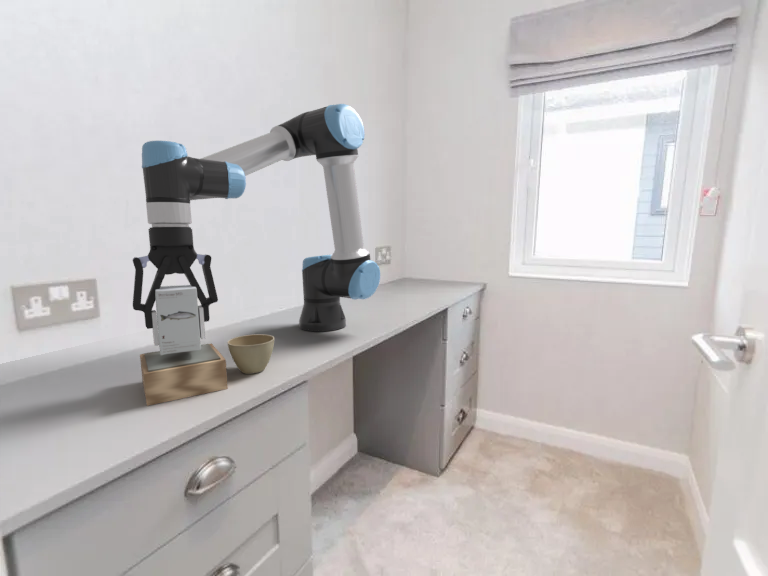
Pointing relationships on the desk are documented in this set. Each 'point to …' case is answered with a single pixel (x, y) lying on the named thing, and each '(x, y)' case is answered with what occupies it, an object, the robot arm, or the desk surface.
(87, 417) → the desk surface
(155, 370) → the wooden box
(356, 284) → the robot arm
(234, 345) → the flower pot
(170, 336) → the supplement box
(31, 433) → the desk surface
